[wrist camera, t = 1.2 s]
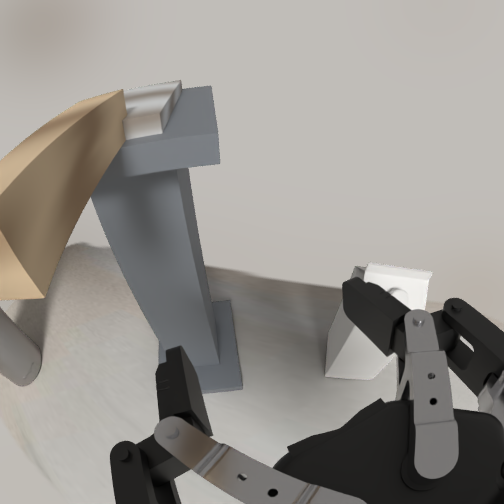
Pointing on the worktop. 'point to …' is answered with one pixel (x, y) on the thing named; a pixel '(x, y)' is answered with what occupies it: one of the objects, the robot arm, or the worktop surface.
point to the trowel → (66, 179)
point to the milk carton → (354, 340)
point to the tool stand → (170, 238)
